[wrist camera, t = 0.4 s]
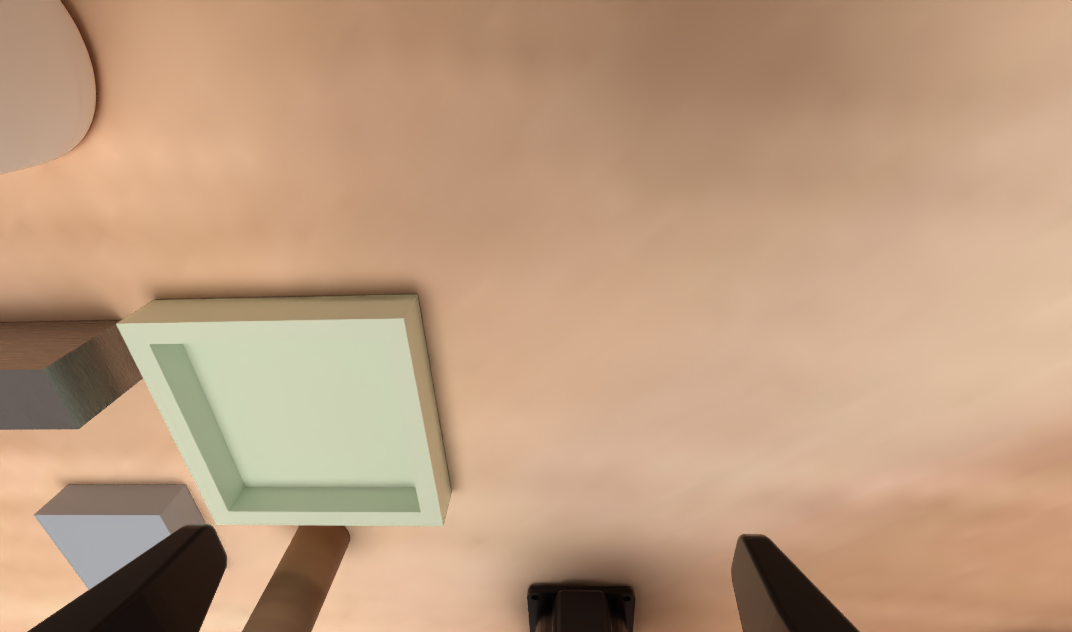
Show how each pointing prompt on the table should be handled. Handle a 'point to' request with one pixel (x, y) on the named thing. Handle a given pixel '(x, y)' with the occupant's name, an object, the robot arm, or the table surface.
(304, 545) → the dowel
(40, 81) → the pill bottle
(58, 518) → the board
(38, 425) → the dark gray block
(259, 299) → the tray
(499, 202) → the table surface
